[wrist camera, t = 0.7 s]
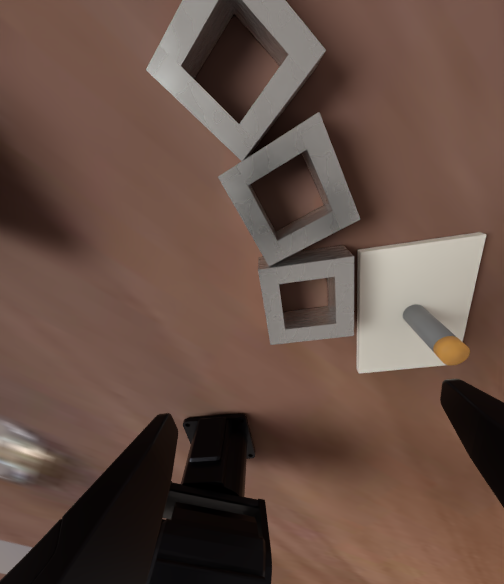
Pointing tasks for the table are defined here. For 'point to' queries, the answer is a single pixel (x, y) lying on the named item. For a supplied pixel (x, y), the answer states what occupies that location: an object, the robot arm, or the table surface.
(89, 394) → the table surface
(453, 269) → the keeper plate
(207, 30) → the grey square frame
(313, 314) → the end link
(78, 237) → the table surface
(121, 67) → the table surface
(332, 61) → the table surface
